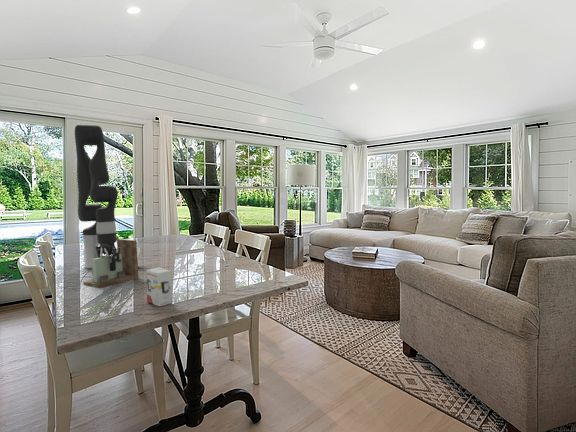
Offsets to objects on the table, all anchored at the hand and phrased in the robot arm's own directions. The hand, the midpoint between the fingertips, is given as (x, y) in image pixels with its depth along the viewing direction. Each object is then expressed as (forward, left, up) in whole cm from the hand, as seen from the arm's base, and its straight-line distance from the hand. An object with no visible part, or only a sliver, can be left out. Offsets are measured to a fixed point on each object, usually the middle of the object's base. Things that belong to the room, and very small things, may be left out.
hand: (109, 269), depth 149 cm
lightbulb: (-16, +24, -5) cm, 29 cm away
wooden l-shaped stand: (0, +1, -5) cm, 5 cm away
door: (0, -1, -4) cm, 4 cm away
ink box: (+43, -9, -5) cm, 44 cm away
